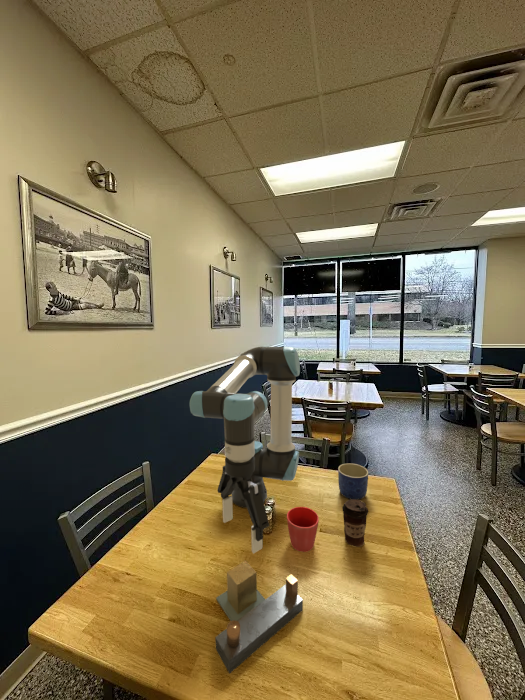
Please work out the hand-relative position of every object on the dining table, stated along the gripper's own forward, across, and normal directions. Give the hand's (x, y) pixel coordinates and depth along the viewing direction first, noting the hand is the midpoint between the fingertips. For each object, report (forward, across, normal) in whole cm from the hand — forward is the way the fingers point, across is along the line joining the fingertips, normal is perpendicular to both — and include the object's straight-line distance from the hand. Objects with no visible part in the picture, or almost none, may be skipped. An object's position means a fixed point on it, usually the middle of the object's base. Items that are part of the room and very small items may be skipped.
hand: (241, 534), depth 76 cm
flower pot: (+20, -4, +27) cm, 34 cm away
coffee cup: (+20, +6, +42) cm, 47 cm away
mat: (+19, 0, 0) cm, 19 cm away
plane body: (+19, +9, 0) cm, 21 cm away
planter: (+20, -11, +65) cm, 69 cm away
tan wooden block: (+18, 0, 0) cm, 19 cm away
